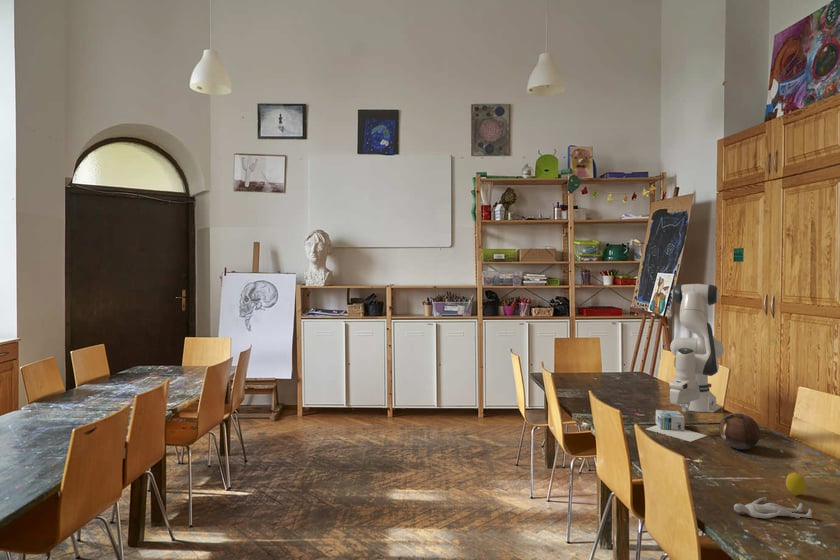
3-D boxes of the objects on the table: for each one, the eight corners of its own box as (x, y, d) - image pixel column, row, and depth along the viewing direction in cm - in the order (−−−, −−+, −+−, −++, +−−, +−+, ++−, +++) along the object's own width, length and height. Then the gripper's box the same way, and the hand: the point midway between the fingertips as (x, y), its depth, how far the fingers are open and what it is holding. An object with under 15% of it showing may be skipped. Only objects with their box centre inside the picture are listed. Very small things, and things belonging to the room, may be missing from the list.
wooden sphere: (754, 444, 225) (754, 410, 225) (764, 456, 211) (765, 420, 210) (715, 440, 230) (715, 407, 230) (723, 452, 216) (723, 417, 215)
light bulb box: (685, 417, 243) (660, 415, 245) (684, 431, 243) (660, 429, 245) (678, 410, 253) (655, 409, 256) (678, 424, 254) (655, 422, 256)
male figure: (817, 511, 156) (743, 510, 157) (817, 523, 156) (743, 522, 157) (795, 496, 166) (725, 495, 167) (794, 508, 166) (725, 507, 167)
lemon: (781, 492, 177) (781, 469, 177) (796, 491, 178) (796, 469, 177) (794, 499, 172) (794, 476, 171) (809, 498, 172) (810, 475, 172)
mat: (662, 424, 255) (662, 423, 255) (707, 436, 236) (707, 435, 236) (645, 429, 247) (645, 428, 247) (691, 441, 229) (690, 441, 229)
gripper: (690, 378, 254) (690, 406, 255) (667, 384, 243) (667, 413, 243) (703, 380, 249) (703, 409, 249) (680, 386, 238) (680, 416, 238)
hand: (685, 411), depth 246 cm, fingers closed
